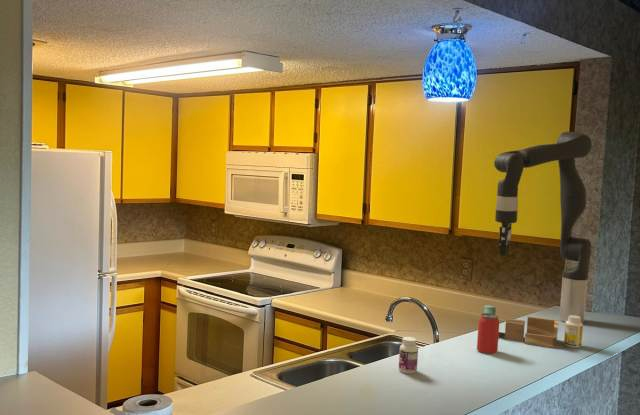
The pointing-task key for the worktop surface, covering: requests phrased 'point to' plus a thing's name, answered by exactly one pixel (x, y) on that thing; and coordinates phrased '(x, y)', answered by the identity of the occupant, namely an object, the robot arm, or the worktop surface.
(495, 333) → the beer can
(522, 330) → the block
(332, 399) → the worktop surface
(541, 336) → the brown u-shaped block
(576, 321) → the supplement bottle
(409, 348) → the pill bottle
